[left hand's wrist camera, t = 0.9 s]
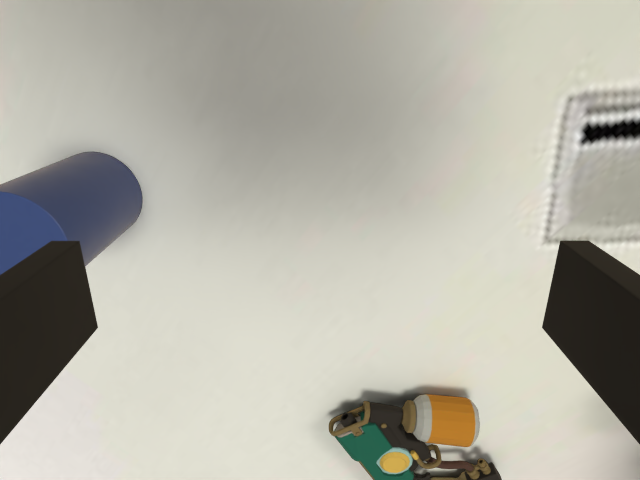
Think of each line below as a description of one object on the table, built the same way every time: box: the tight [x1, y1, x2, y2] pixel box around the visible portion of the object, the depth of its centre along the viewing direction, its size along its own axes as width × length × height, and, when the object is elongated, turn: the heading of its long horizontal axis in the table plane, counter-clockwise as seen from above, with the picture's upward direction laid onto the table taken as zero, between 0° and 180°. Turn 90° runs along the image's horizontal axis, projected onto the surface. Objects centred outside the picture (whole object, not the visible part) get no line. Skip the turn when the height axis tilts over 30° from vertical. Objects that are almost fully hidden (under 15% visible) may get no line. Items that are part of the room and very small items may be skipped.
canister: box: [0, 152, 142, 275], centre depth 31 cm, size 7×7×11 cm
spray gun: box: [329, 394, 502, 480], centre depth 44 cm, size 4×17×15 cm
